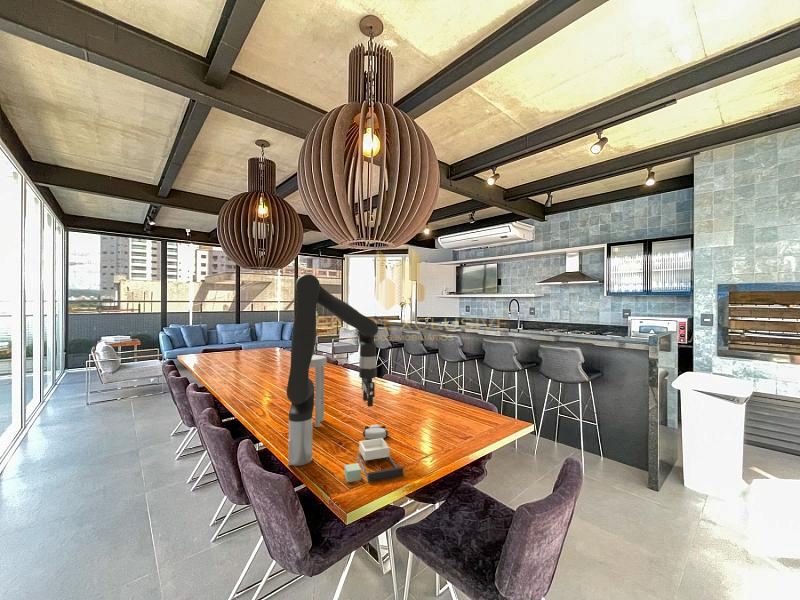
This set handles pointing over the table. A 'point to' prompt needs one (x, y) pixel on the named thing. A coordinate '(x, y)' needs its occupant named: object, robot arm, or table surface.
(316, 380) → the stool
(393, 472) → the track
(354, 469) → the block
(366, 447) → the white square tray
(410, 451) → the table surface
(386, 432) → the robot toy
